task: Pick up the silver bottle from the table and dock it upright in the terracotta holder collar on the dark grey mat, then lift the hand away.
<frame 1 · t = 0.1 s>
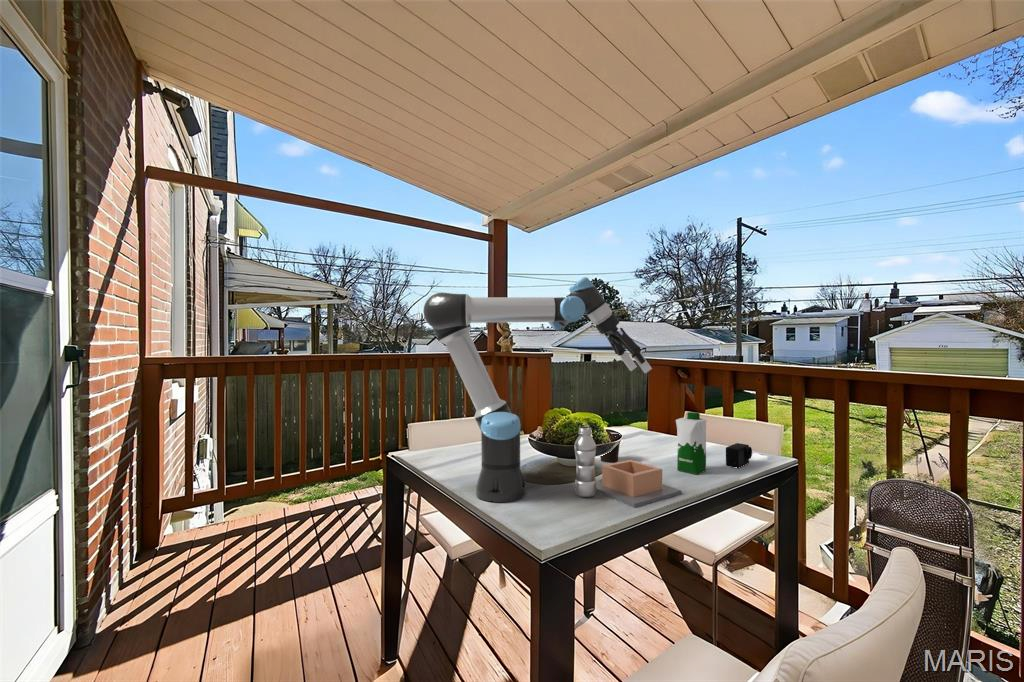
hand: (640, 370, 144), 36 cm above the table, tool tilted 35°, fingers open, 13 cm apart
silver bottle: (585, 496, 125), on the table
coffee mug: (610, 460, 165), on the table
digital camera: (739, 465, 157), on the table
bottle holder: (631, 490, 130), on the table
milk carton: (691, 471, 150), on the table
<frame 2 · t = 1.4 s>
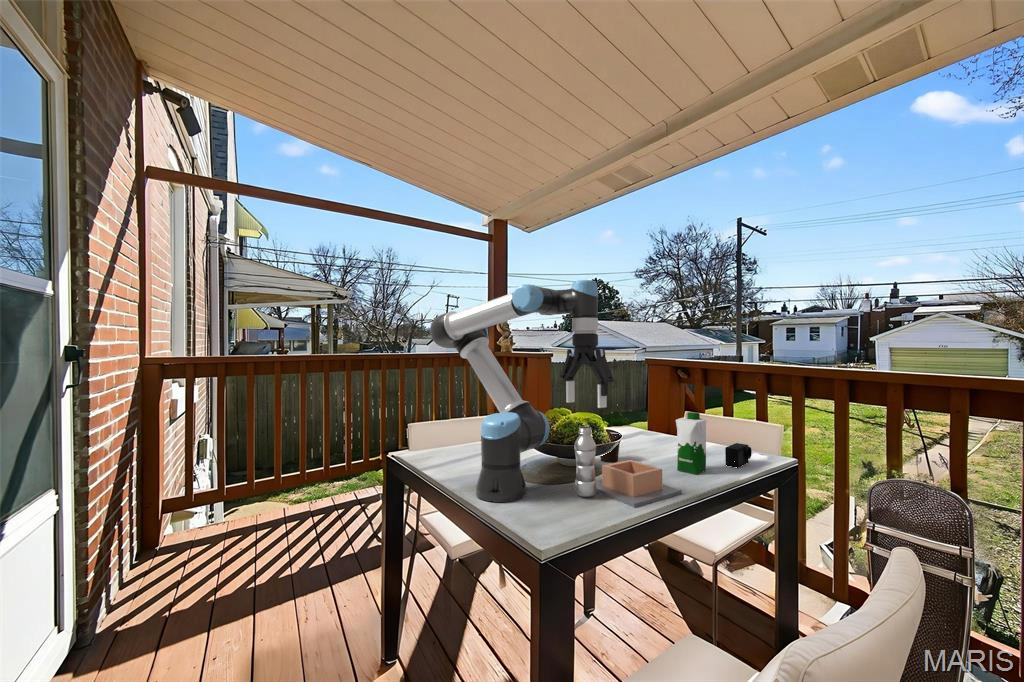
hand: (585, 404, 126), 27 cm above the table, tool pointing down, fingers open, 13 cm apart
nothing on the table moved.
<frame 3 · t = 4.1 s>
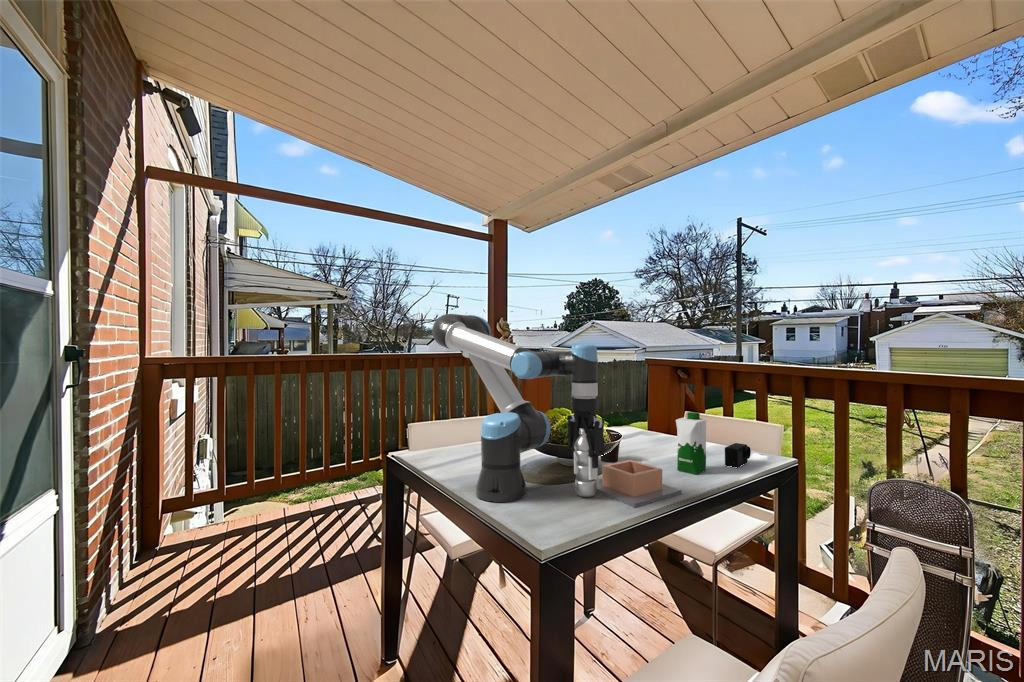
hand: (585, 475, 126), 6 cm above the table, tool pointing down, fingers closed on silver bottle, 6 cm apart
silver bottle: (585, 496, 125), on the table, touching gripper
everything else where it was.
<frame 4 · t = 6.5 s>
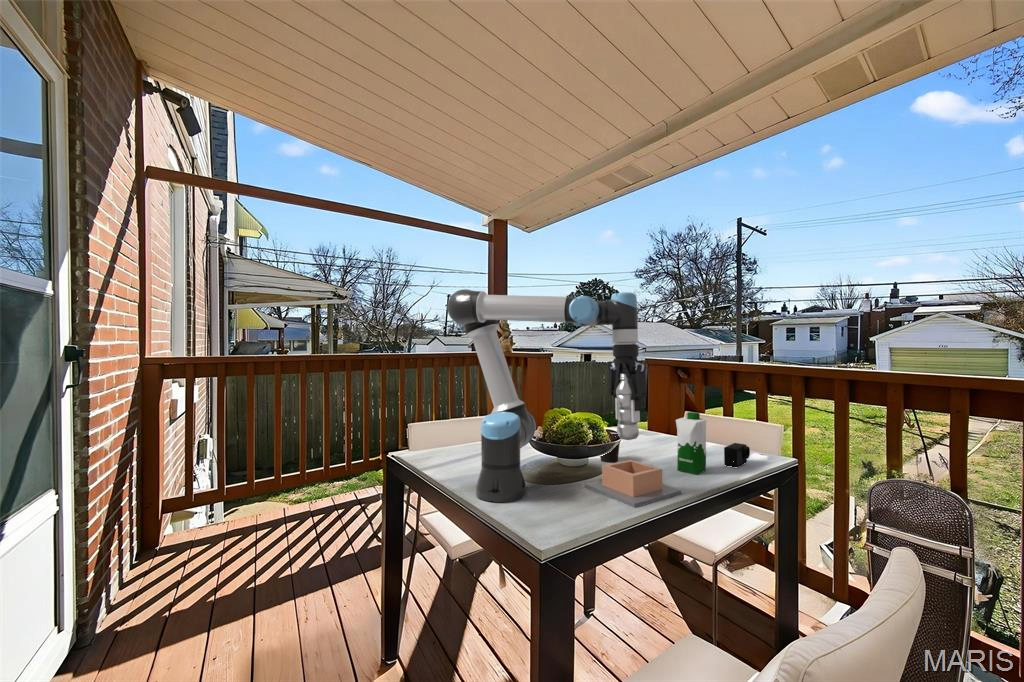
hand: (627, 420, 129), 21 cm above the table, tool pointing down, fingers closed on silver bottle, 6 cm apart
silver bottle: (628, 440, 129), point 15 cm above the table, touching gripper
everything else where it was.
when the fingers open (9 cm above the table, at t = 9.3 s): silver bottle drops 2 cm, resting on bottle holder.
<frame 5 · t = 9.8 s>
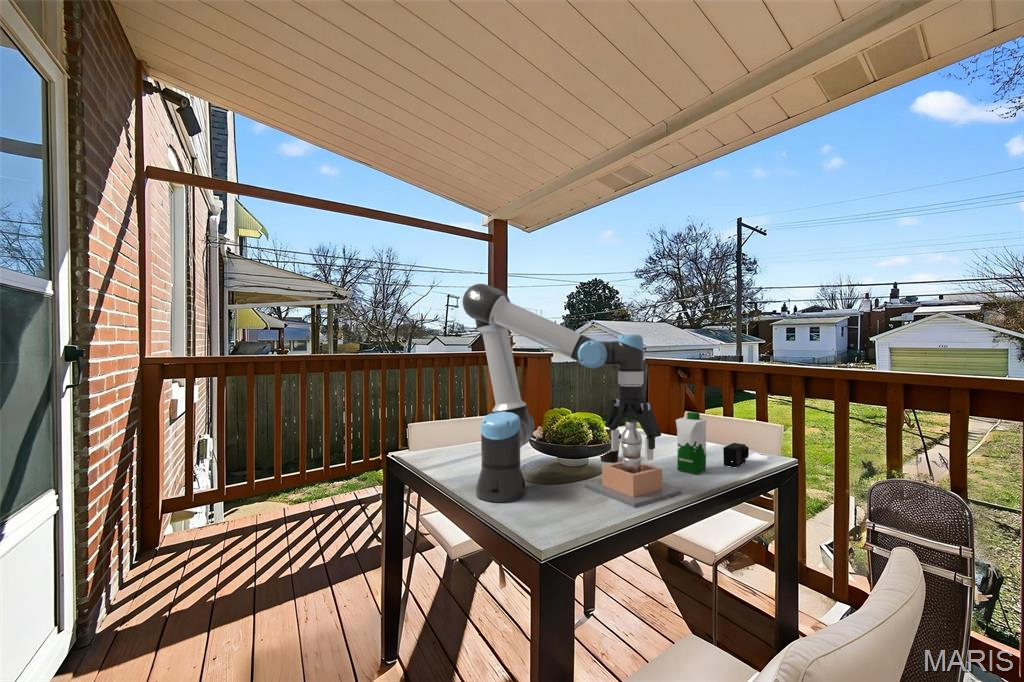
hand: (631, 455, 130), 11 cm above the table, tool pointing down, fingers open, 13 cm apart
silver bottle: (631, 487, 130), point 1 cm above the table, touching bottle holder
everything else where it was.
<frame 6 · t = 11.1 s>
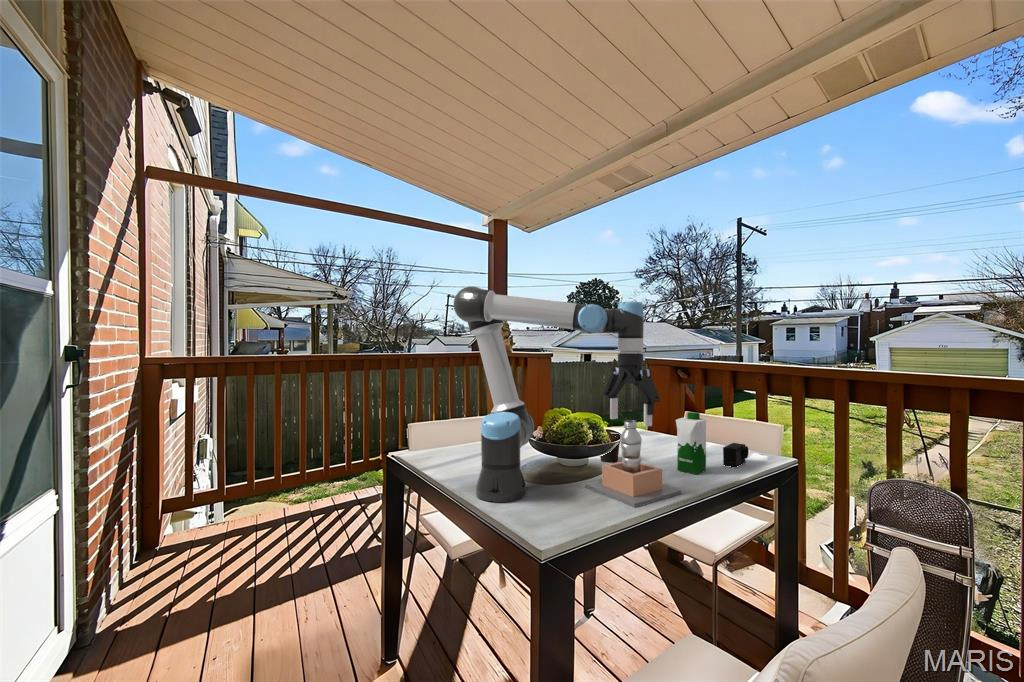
hand: (630, 422, 130), 21 cm above the table, tool pointing down, fingers open, 13 cm apart
nothing on the table moved.
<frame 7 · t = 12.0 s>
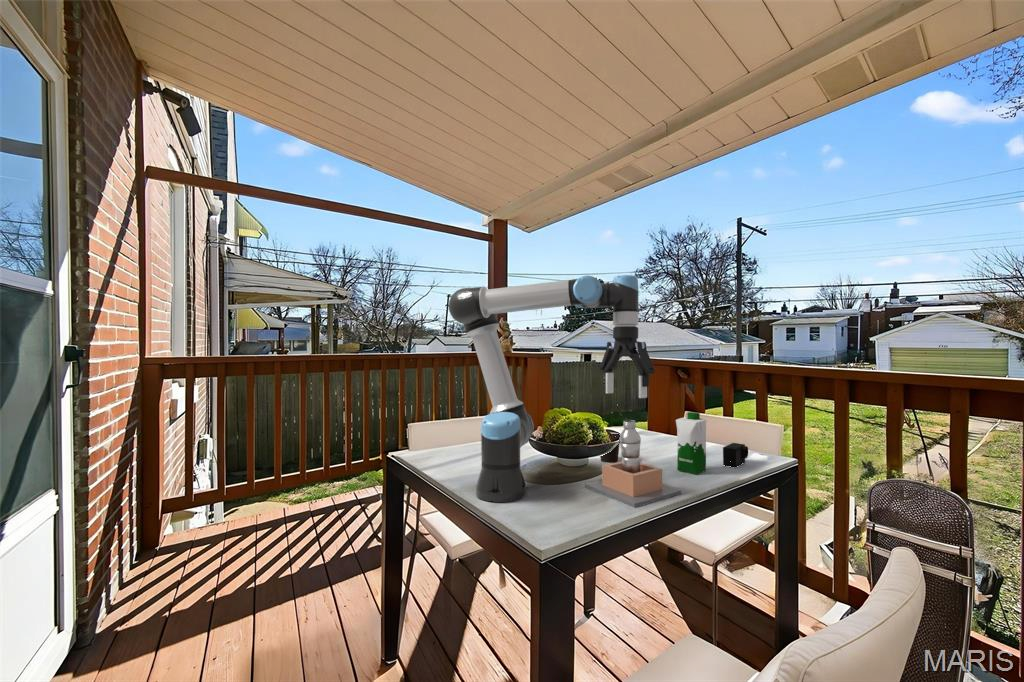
hand: (625, 395, 131), 29 cm above the table, tool pointing down, fingers open, 13 cm apart
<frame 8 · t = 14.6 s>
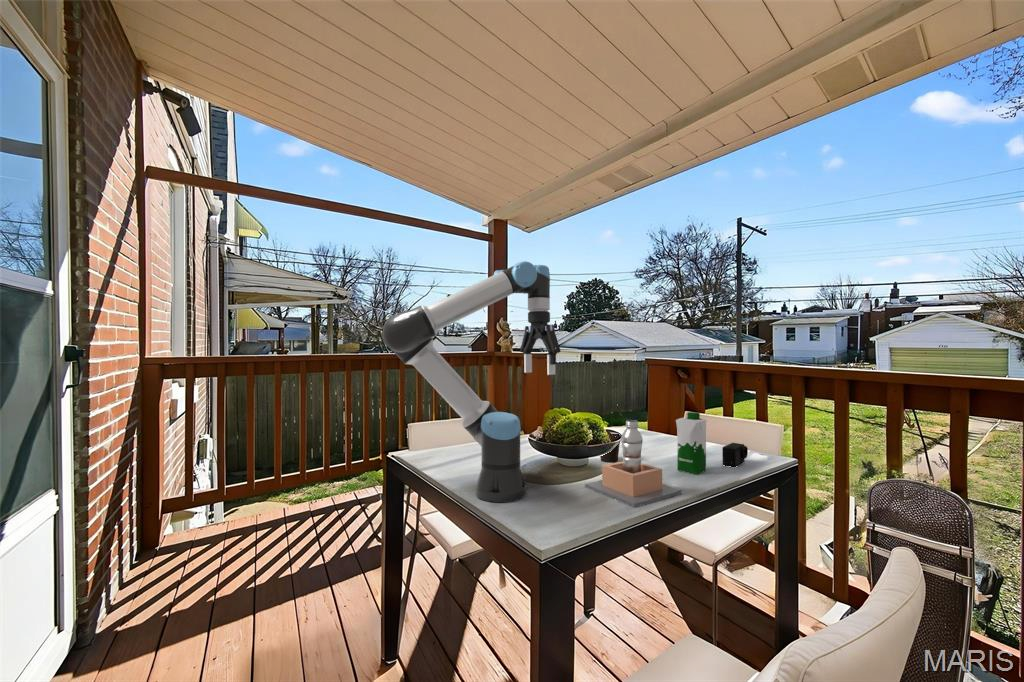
hand: (539, 373, 145), 35 cm above the table, tool pointing down, fingers open, 13 cm apart
at the end: silver bottle 0.1 cm off-centre on the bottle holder, point 0.8 cm above the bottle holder's base; silver bottle tilted 0°; the gripper is holding nothing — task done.
